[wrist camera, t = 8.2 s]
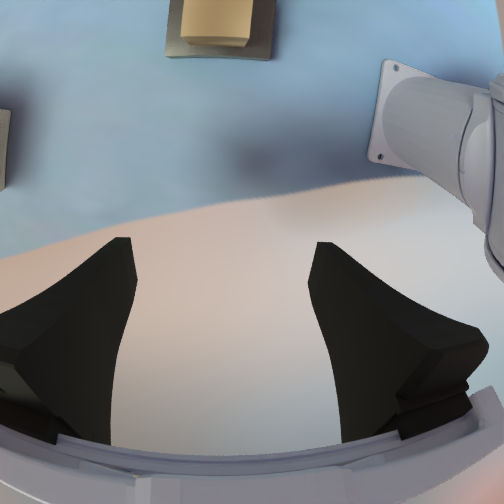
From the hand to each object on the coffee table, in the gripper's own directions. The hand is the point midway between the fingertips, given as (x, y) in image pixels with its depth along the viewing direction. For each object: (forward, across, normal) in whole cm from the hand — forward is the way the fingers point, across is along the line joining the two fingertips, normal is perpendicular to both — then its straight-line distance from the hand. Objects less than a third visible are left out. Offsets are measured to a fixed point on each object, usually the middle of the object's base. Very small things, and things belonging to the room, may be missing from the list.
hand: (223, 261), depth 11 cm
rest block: (+10, +1, -10) cm, 15 cm away
